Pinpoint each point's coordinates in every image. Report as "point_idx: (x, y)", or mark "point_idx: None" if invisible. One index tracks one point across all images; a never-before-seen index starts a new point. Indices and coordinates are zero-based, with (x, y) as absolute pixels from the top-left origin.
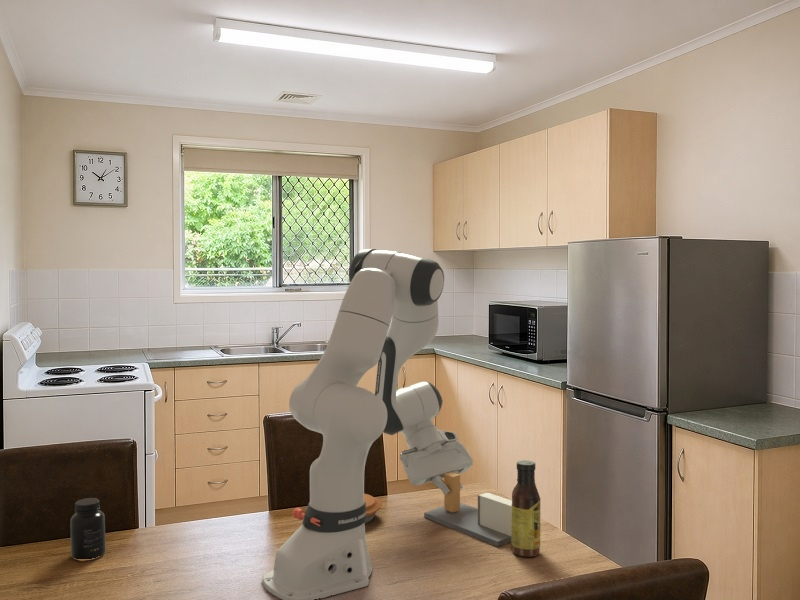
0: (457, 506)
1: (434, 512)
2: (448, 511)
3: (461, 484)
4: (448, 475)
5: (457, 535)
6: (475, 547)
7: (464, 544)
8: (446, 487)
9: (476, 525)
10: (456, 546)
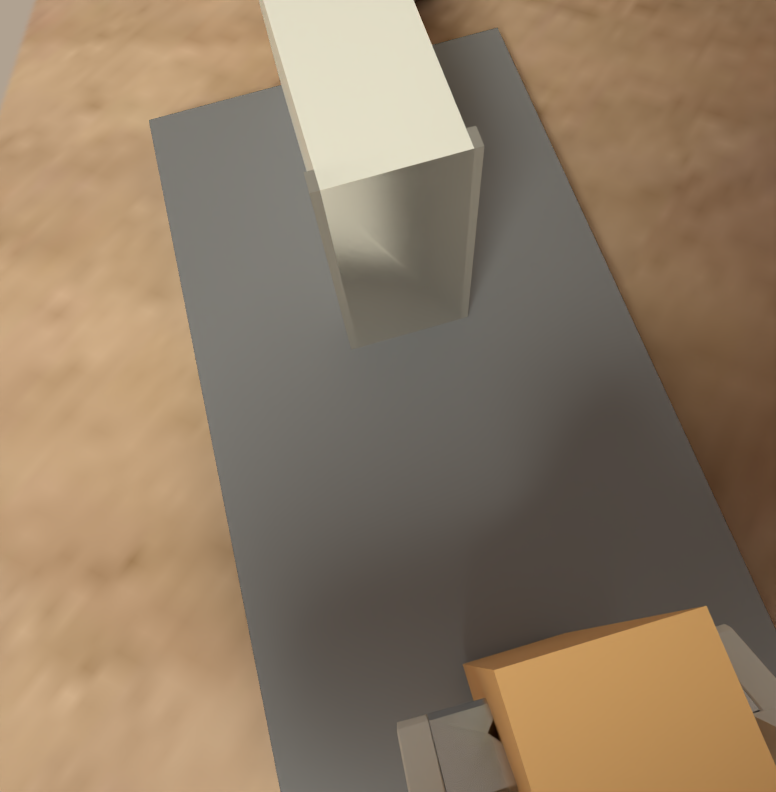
0: (503, 652)
1: None
2: None
3: (405, 748)
4: (771, 756)
5: (673, 295)
6: (635, 96)
7: (687, 154)
8: (749, 671)
9: (491, 297)
10: (756, 147)
